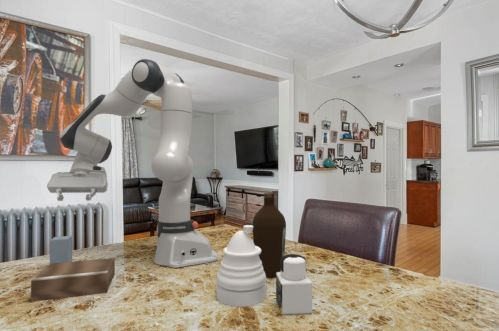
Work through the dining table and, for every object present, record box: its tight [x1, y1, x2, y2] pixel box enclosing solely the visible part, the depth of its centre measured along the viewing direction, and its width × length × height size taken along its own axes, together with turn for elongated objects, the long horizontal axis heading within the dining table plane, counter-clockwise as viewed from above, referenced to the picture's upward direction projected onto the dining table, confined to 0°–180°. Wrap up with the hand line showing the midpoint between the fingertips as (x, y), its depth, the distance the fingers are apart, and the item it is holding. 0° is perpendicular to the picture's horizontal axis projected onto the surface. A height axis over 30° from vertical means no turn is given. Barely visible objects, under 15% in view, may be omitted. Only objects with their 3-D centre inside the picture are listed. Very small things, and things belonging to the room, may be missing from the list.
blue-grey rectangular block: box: [49, 235, 73, 265], centre depth 95 cm, size 5×5×10 cm
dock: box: [30, 257, 116, 302], centre depth 80 cm, size 17×14×5 cm
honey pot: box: [215, 224, 267, 308], centre depth 75 cm, size 13×13×18 cm
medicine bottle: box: [275, 253, 313, 315], centre depth 68 cm, size 7×7×12 cm
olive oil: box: [252, 192, 287, 278], centre depth 91 cm, size 11×11×25 cm
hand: (74, 199), depth 107 cm, fingers open, 8 cm apart
